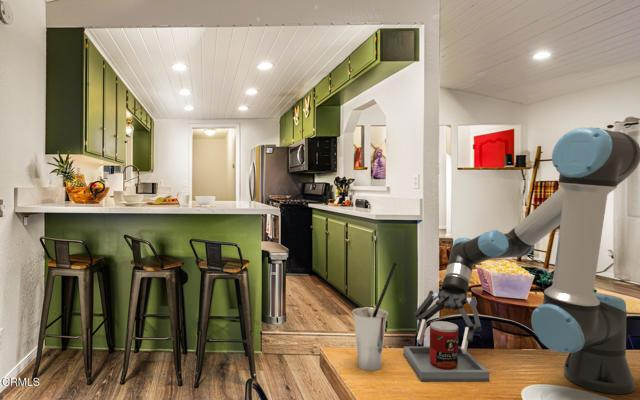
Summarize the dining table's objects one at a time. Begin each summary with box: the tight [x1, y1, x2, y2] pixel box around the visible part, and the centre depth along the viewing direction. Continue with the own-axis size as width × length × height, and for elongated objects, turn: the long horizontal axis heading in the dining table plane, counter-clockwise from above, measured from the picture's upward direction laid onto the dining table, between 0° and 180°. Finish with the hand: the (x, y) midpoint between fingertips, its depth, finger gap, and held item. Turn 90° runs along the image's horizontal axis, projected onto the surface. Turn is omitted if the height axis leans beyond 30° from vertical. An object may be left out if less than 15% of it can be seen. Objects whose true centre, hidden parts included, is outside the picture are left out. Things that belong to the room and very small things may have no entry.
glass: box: [351, 262, 397, 372], centre depth 112 cm, size 11×11×30 cm
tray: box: [403, 345, 490, 383], centre depth 113 cm, size 18×18×2 cm
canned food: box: [429, 320, 459, 369], centre depth 113 cm, size 8×8×11 cm
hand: (440, 346), depth 110 cm, fingers open, 11 cm apart
